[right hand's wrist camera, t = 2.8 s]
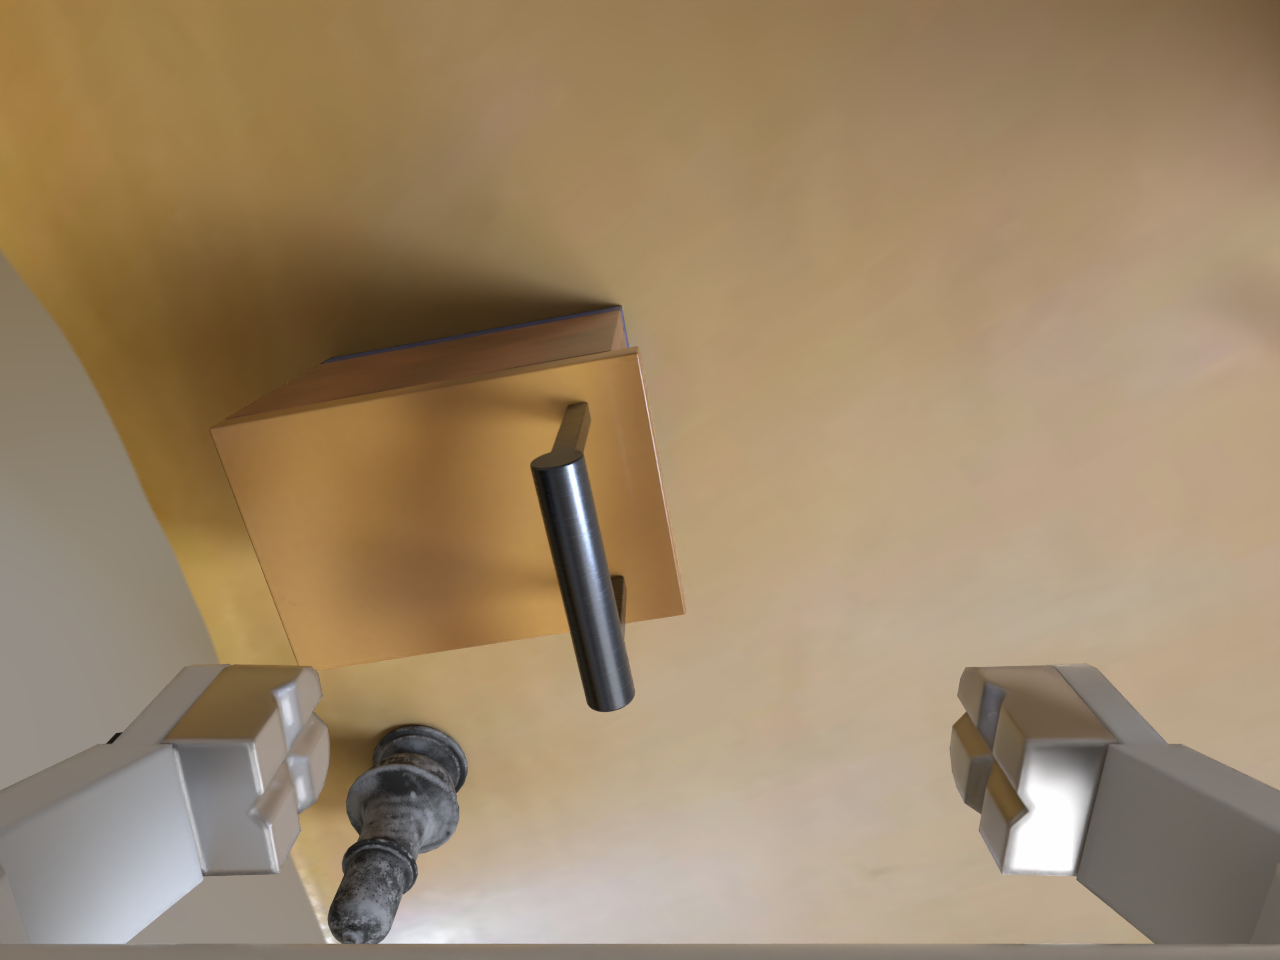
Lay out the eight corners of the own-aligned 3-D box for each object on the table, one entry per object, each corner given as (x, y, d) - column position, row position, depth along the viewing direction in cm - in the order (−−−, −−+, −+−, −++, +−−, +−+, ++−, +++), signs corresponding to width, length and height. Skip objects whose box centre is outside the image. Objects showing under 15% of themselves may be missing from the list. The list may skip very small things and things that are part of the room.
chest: (621, 305, 37) (611, 349, 28) (658, 503, 41) (660, 603, 31) (329, 358, 38) (223, 418, 29) (389, 547, 42) (312, 657, 32)
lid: (639, 345, 28) (634, 408, 20) (685, 600, 31) (696, 734, 24) (223, 419, 29) (74, 504, 21) (311, 657, 32) (209, 803, 25)
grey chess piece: (412, 822, 47) (338, 1023, 36) (346, 751, 46) (246, 939, 35) (493, 777, 46) (443, 971, 35) (429, 703, 45) (354, 882, 33)
